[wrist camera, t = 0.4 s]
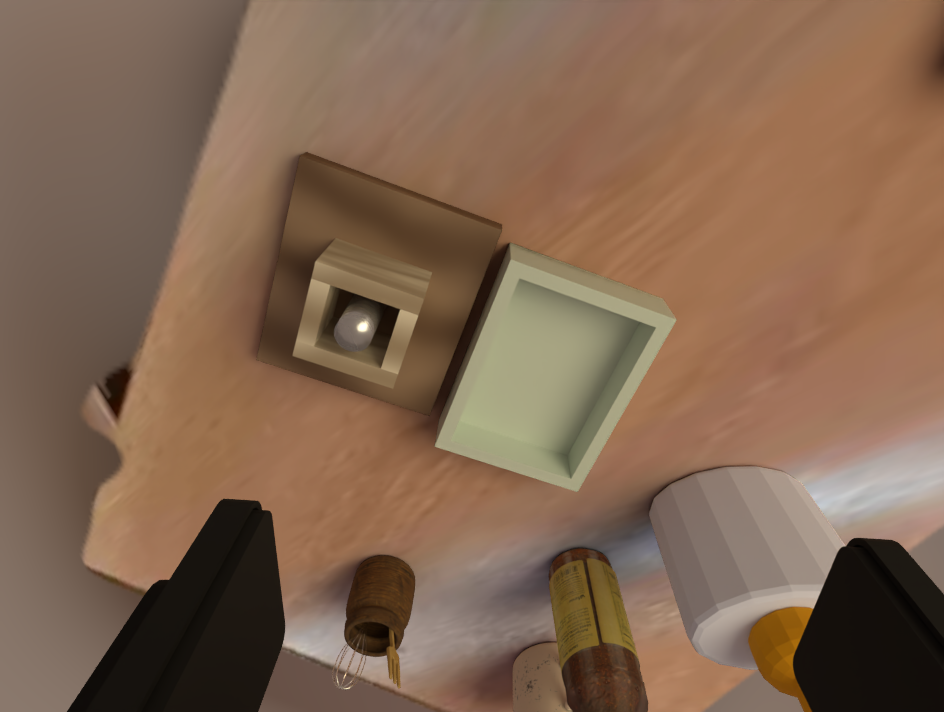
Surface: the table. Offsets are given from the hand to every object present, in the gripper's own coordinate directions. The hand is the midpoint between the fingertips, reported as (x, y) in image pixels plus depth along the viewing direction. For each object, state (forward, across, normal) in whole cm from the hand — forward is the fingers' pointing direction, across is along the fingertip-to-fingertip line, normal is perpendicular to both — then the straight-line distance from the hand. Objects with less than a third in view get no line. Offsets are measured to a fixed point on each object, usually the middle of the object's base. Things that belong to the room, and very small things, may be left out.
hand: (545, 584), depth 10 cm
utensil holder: (+35, +9, +37) cm, 52 cm away
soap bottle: (+35, -21, +25) cm, 48 cm away
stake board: (+34, +9, +8) cm, 36 cm away
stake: (+33, +9, +8) cm, 35 cm away
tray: (+34, -4, +12) cm, 37 cm away
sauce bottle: (+35, -10, +34) cm, 50 cm away
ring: (+33, +9, +8) cm, 35 cm away
